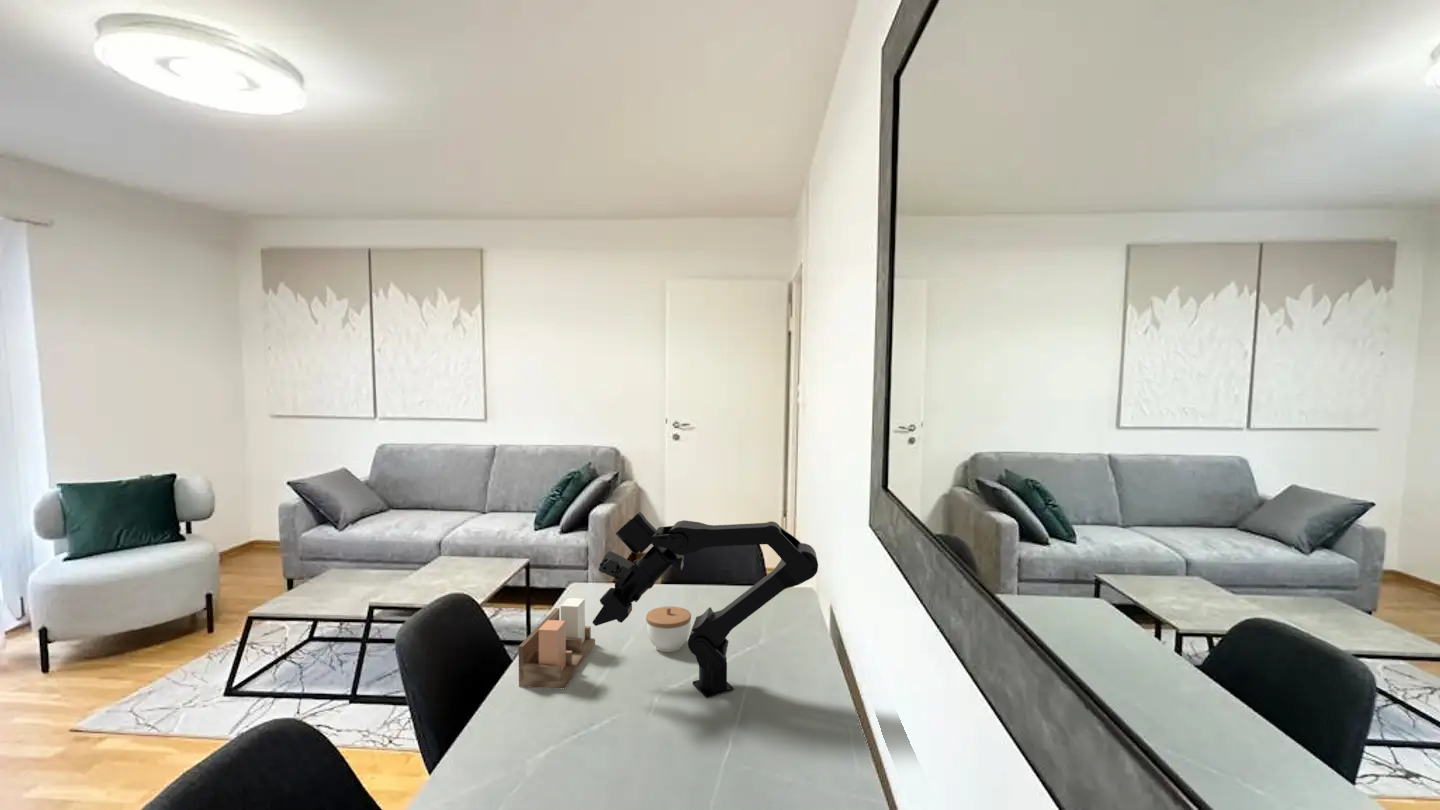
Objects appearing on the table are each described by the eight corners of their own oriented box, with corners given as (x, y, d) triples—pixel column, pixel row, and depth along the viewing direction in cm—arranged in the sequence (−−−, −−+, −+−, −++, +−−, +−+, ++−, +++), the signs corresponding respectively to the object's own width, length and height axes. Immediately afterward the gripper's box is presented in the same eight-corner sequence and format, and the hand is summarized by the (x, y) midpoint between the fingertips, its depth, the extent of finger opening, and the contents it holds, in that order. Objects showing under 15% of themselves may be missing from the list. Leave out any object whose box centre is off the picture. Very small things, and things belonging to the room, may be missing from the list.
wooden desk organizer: (595, 644, 145) (594, 609, 145) (564, 689, 125) (564, 648, 124) (555, 642, 146) (555, 608, 146) (518, 686, 125) (518, 646, 125)
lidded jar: (693, 637, 149) (693, 600, 149) (687, 657, 139) (687, 617, 138) (651, 635, 150) (651, 598, 150) (641, 655, 140) (641, 615, 139)
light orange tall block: (565, 665, 131) (565, 620, 130) (557, 677, 126) (557, 630, 125) (548, 664, 131) (547, 619, 131) (538, 676, 126) (538, 629, 126)
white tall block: (584, 639, 144) (584, 598, 143) (578, 649, 139) (577, 606, 138) (568, 639, 144) (568, 598, 144) (561, 648, 139) (560, 605, 139)
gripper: (633, 529, 135) (585, 576, 137) (610, 554, 117) (555, 607, 118) (668, 565, 135) (619, 611, 136) (650, 595, 116) (594, 649, 118)
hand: (598, 618), depth 127 cm, fingers open, 5 cm apart
